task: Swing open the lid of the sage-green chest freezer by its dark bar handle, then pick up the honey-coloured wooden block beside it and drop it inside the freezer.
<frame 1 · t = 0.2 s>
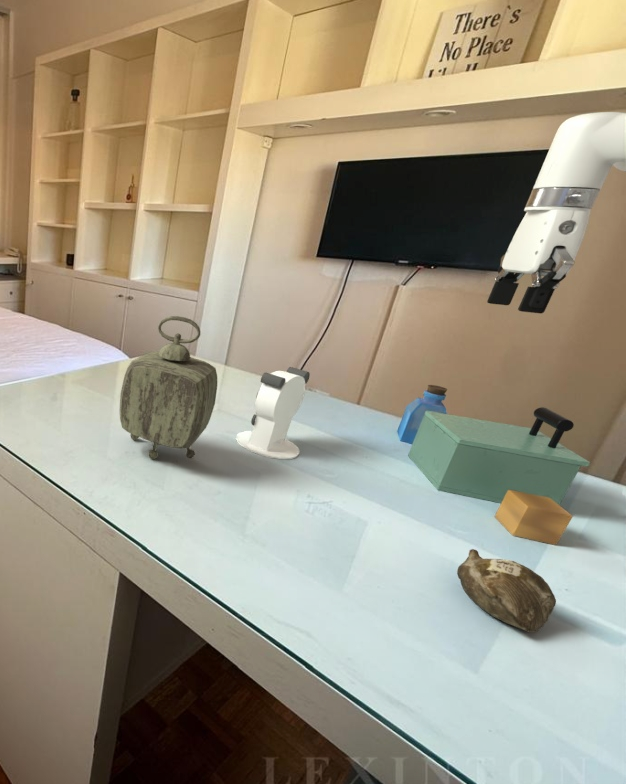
hand: (513, 307, 79), 30 cm above the table, tool pointing down, fingers open, 9 cm apart
freezer: (473, 481, 81), on the table
block: (523, 530, 68), on the table
perfume bottle: (415, 440, 97), on the table
tabletop clock: (155, 455, 82), on the table
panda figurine: (267, 445, 89), on the table
fossilized seashell: (491, 605, 53), on the table
freezer lid: (504, 422, 77), point 12 cm above the table, hinge at 0.0°
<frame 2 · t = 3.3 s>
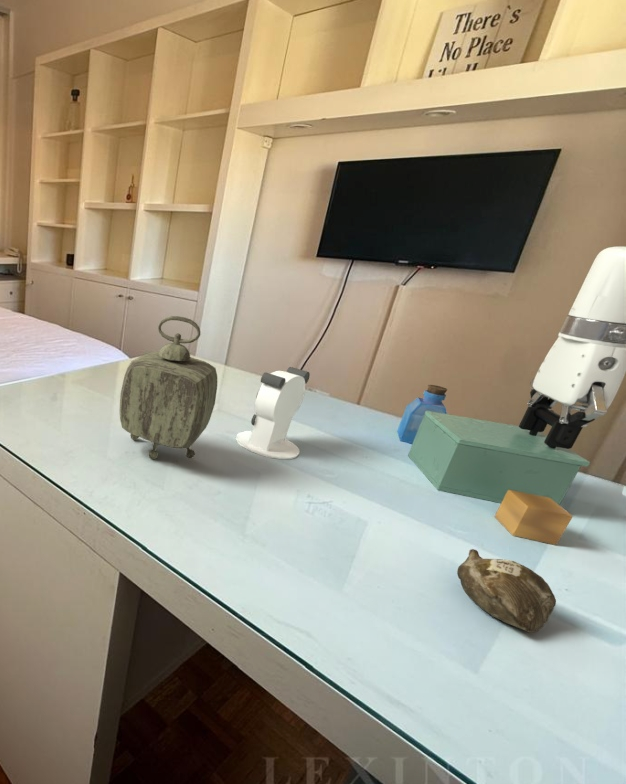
hand: (543, 436, 75), 10 cm above the table, tool pointing down, fingers closed on freezer lid, 6 cm apart
freezer lid: (504, 422, 77), point 12 cm above the table, hinge at 0.0°, touching gripper
everything else where it was.
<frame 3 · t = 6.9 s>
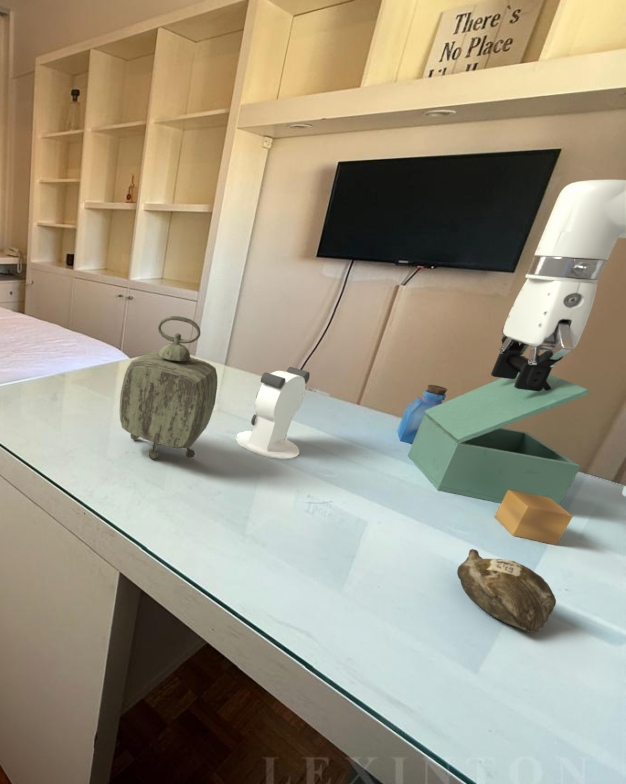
hand: (514, 382, 74), 19 cm above the table, tool pointing down, fingers closed on freezer lid, 6 cm apart
freezer lid: (488, 391, 76), point 17 cm above the table, hinge at 42.5°, touching gripper
everything else where it was.
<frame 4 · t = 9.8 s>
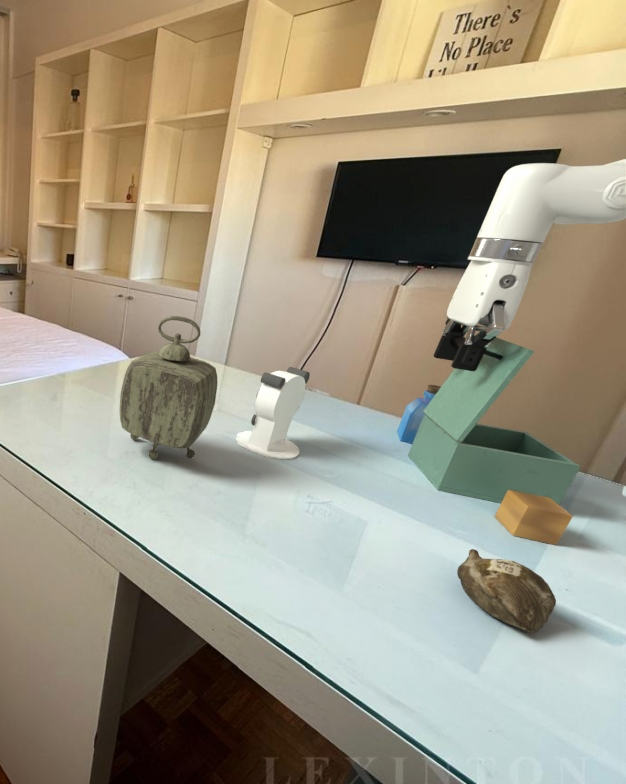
hand: (453, 363, 76), 21 cm above the table, tool pointing down, fingers closed on freezer lid, 6 cm apart
freezer lid: (455, 379, 77), point 18 cm above the table, hinge at 77.0°, touching gripper
everything else where it was.
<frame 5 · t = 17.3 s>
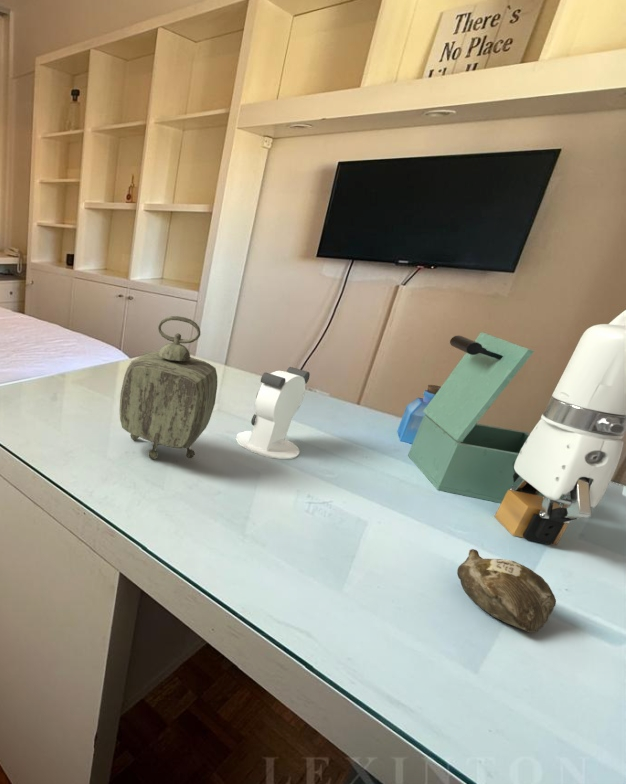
hand: (525, 528, 67), 0 cm above the table, tool pointing down, fingers closed on block, 5 cm apart
block: (523, 530, 68), on the table, touching gripper
freezer lid: (455, 379, 77), point 18 cm above the table, hinge at 77.1°
everything else where it was.
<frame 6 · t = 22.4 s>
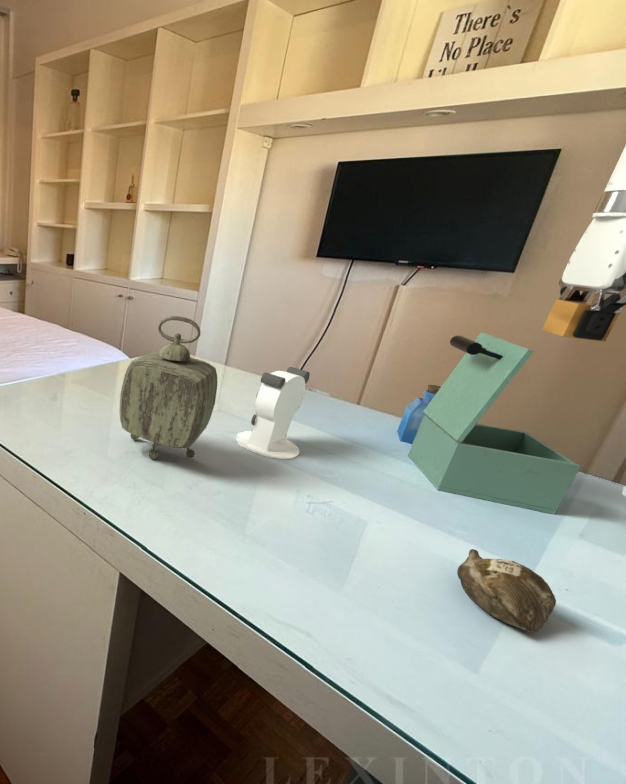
hand: (573, 333, 70), 28 cm above the table, tool pointing down, fingers closed on block, 5 cm apart
block: (572, 335, 70), point 27 cm above the table, touching gripper
everything else where it was.
when the fingers open (6 cm above the table, at t = 27.7 s): block drops 5 cm, resting on freezer.
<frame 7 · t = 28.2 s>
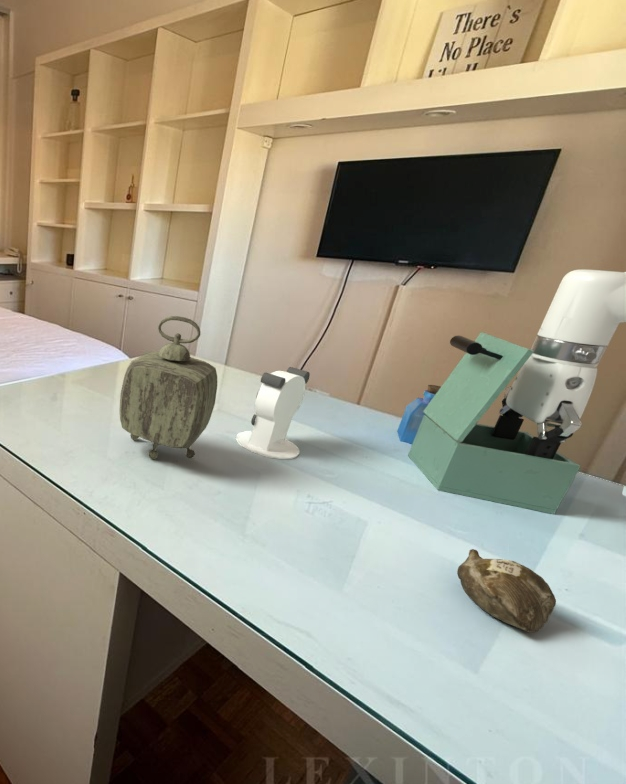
hand: (518, 448, 77), 8 cm above the table, tool pointing down, fingers open, 9 cm apart
block: (499, 482, 79), point 1 cm above the table, touching freezer
everything else where it was.
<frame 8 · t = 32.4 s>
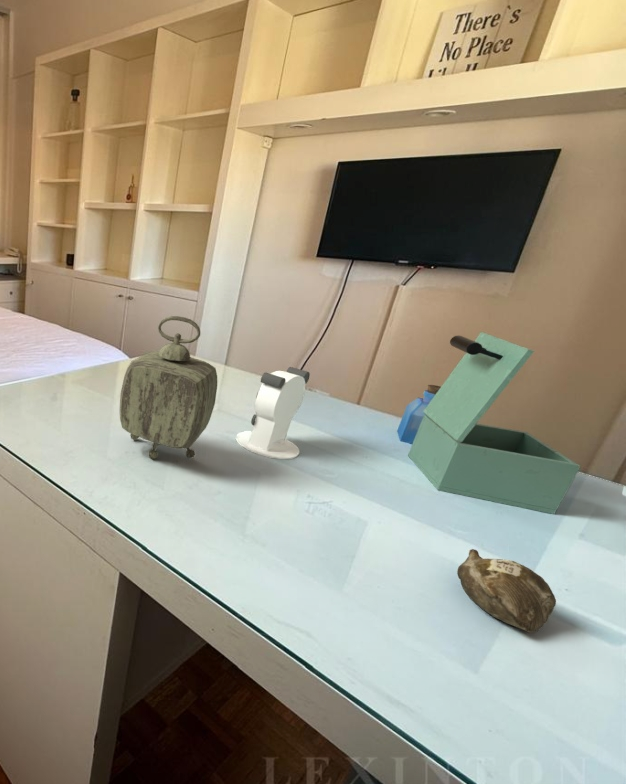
nothing on the table moved.
at the end: freezer lid at +77° (first picture: +0°); block inside the target area in the freezer (3.5 cm from its centre), point 0.8 cm above the freezer's base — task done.
